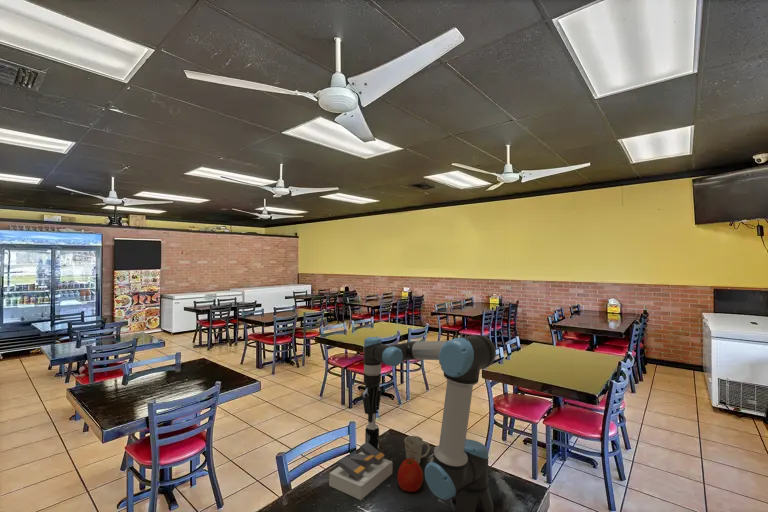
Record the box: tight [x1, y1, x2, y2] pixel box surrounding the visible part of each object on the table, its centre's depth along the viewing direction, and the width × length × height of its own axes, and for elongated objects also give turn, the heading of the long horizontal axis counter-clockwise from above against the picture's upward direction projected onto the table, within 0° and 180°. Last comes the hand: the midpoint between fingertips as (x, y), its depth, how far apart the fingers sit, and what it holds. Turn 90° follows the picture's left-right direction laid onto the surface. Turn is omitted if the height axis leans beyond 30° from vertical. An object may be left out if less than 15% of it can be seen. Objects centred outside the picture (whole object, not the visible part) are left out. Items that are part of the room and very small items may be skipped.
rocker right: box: [359, 442, 385, 464], centre depth 156 cm, size 10×5×2 cm, turn 55°
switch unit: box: [328, 451, 393, 501], centre depth 150 cm, size 16×22×7 cm
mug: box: [403, 435, 431, 465], centre depth 165 cm, size 8×13×10 cm, turn 115°
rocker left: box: [337, 455, 365, 479], centre depth 144 cm, size 10×5×2 cm, turn 56°
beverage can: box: [364, 423, 380, 452], centre depth 173 cm, size 7×7×12 cm
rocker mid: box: [349, 453, 375, 466], centre depth 150 cm, size 10×5×2 cm, turn 56°
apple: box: [397, 458, 424, 493], centre depth 145 cm, size 10×10×10 cm
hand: (371, 428), depth 156 cm, fingers closed
